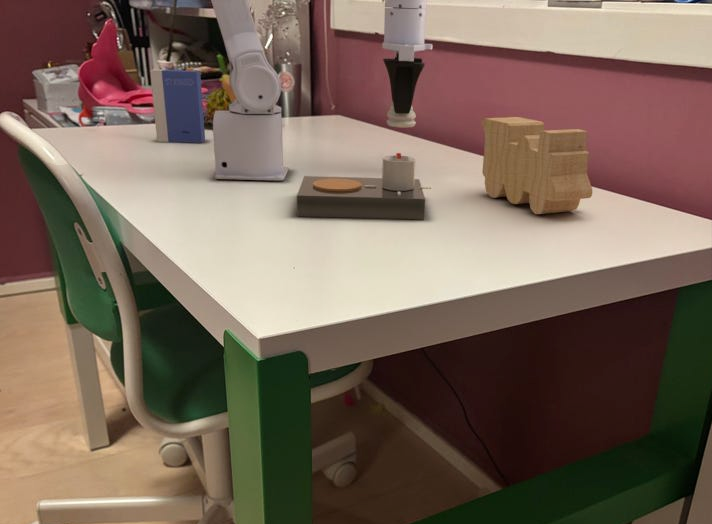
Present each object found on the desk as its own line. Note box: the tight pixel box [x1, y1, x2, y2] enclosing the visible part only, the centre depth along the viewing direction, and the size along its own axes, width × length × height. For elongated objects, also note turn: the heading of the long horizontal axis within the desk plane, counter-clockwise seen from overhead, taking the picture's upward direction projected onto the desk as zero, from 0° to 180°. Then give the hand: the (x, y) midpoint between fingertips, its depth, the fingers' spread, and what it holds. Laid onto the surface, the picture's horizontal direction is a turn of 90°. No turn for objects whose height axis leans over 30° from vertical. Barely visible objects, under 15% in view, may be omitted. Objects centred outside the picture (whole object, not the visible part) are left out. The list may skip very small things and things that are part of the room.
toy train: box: [481, 116, 593, 215], centre depth 95 cm, size 6×17×10 cm, turn 27°
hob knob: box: [381, 152, 416, 191], centre depth 91 cm, size 4×4×4 cm
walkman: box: [149, 67, 206, 144], centre depth 128 cm, size 8×3×12 cm, turn 91°
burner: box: [313, 179, 362, 192], centre depth 91 cm, size 6×6×1 cm
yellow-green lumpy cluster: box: [204, 73, 233, 127], centre depth 148 cm, size 17×16×10 cm
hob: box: [296, 175, 432, 221], centre depth 92 cm, size 16×11×3 cm
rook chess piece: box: [386, 102, 417, 128], centre depth 108 cm, size 4×4×8 cm
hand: (401, 111), depth 108 cm, fingers closed on rook chess piece, 3 cm apart
